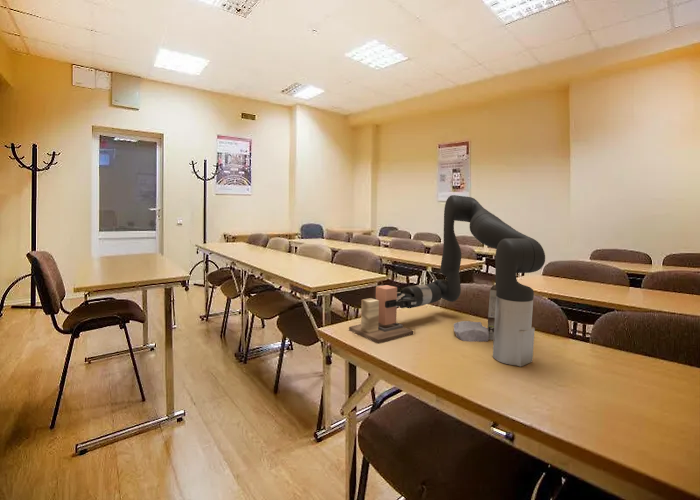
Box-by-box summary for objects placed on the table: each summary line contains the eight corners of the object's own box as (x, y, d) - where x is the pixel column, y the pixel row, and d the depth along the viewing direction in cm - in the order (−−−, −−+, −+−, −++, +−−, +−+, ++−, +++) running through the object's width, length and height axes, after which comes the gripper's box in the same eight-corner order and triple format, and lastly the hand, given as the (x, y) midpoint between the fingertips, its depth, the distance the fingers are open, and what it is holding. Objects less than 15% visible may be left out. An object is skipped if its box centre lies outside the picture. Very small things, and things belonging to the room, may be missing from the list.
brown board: (413, 334, 122) (413, 330, 122) (378, 343, 114) (378, 339, 113) (382, 322, 134) (382, 319, 134) (349, 330, 126) (349, 326, 125)
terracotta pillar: (396, 322, 126) (397, 287, 124) (385, 325, 123) (385, 289, 121) (386, 318, 130) (387, 284, 128) (375, 321, 127) (375, 286, 125)
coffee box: (508, 342, 116) (511, 291, 114) (486, 339, 119) (489, 289, 117) (510, 334, 124) (513, 286, 122) (490, 331, 127) (492, 284, 125)
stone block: (459, 347, 117) (492, 342, 116) (457, 332, 116) (489, 327, 116) (451, 335, 129) (480, 331, 128) (449, 322, 128) (478, 317, 128)
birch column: (378, 330, 122) (378, 300, 121) (368, 332, 119) (369, 302, 118) (370, 327, 125) (371, 298, 124) (360, 329, 123) (361, 299, 122)
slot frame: (403, 327, 126) (403, 325, 125) (384, 331, 121) (384, 329, 121) (386, 321, 132) (386, 319, 132) (368, 325, 127) (368, 323, 127)
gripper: (402, 282, 139) (366, 287, 129) (432, 289, 128) (395, 296, 118) (401, 302, 140) (366, 309, 130) (431, 310, 129) (394, 319, 119)
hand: (380, 302), depth 124 cm, fingers closed on terracotta pillar, 5 cm apart
